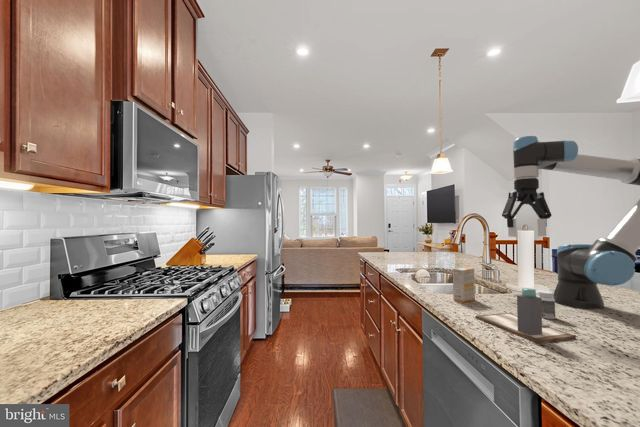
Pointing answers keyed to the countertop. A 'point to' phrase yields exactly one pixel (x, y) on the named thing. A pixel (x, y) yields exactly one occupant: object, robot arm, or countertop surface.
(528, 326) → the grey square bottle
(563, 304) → the robot arm
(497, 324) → the brown rectangular tray
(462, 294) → the supplement box
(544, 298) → the pill bottle
